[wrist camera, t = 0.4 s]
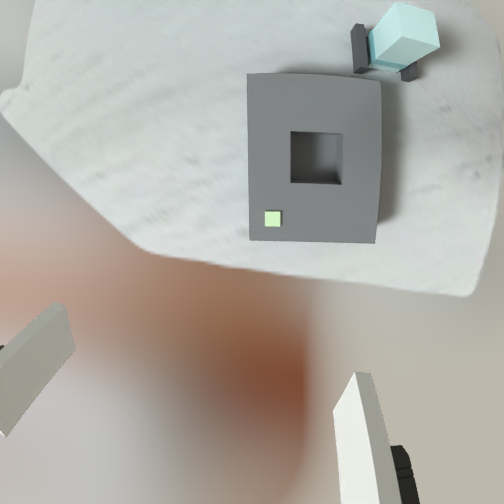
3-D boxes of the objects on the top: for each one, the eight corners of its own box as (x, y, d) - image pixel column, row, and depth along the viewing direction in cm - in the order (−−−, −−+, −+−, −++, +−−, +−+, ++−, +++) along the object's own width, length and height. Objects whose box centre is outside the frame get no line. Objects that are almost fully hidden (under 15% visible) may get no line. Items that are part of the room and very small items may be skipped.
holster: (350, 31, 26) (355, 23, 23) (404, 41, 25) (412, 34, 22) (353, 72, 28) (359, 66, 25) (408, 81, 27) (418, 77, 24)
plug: (363, 39, 26) (395, 0, 15) (393, 45, 26) (433, 12, 14) (366, 67, 28) (401, 36, 16) (396, 72, 27) (440, 47, 16)
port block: (252, 83, 30) (246, 73, 25) (367, 89, 29) (381, 80, 24) (254, 227, 36) (249, 241, 31) (363, 230, 35) (375, 244, 30)
